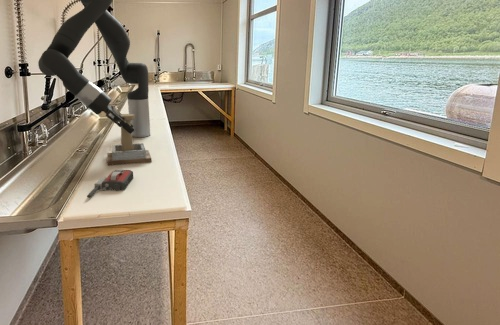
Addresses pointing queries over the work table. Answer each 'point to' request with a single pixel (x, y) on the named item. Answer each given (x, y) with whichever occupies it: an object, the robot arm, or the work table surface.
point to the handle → (125, 136)
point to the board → (132, 161)
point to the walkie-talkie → (113, 181)
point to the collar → (128, 152)
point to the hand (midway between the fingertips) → (132, 129)
